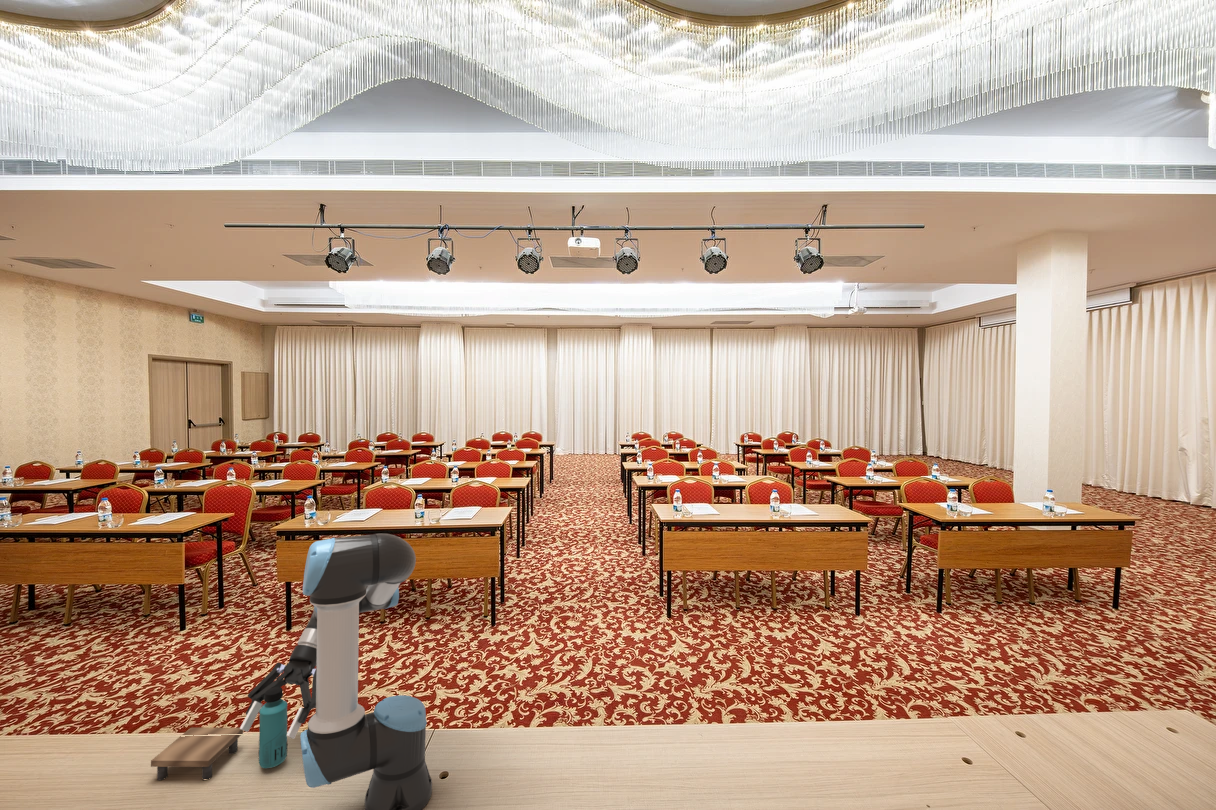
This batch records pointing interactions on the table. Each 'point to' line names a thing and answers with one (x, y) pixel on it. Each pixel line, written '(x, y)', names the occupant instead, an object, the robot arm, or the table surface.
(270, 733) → the beverage bottle
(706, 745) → the table surface
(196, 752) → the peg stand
